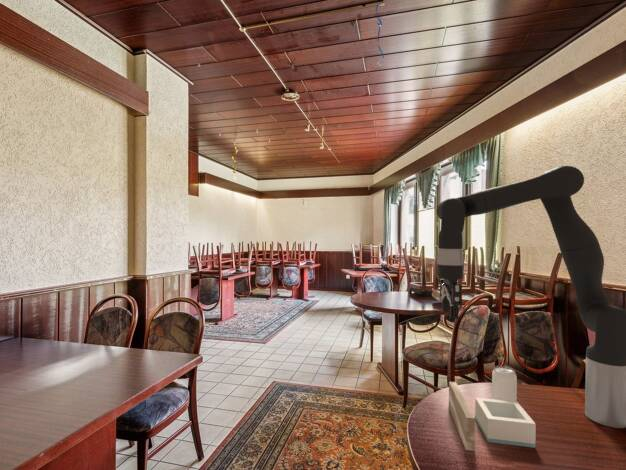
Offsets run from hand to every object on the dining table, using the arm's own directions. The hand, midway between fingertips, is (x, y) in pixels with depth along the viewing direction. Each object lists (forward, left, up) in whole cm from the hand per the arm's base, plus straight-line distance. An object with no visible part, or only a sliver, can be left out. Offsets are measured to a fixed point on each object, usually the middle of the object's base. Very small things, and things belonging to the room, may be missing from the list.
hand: (450, 315), depth 102 cm
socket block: (-11, +12, -28) cm, 32 cm away
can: (-16, -1, -28) cm, 32 cm away
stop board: (-1, +12, -28) cm, 30 cm away
